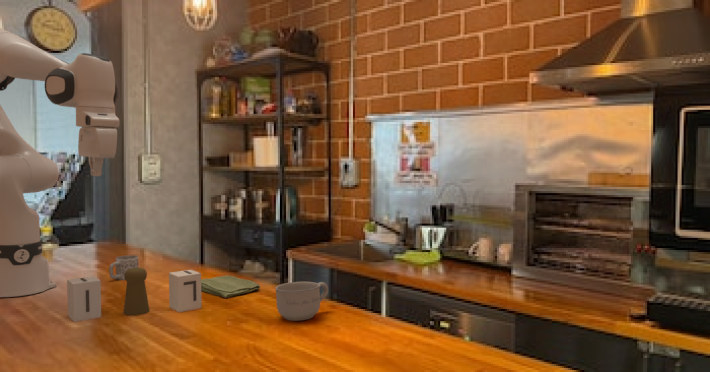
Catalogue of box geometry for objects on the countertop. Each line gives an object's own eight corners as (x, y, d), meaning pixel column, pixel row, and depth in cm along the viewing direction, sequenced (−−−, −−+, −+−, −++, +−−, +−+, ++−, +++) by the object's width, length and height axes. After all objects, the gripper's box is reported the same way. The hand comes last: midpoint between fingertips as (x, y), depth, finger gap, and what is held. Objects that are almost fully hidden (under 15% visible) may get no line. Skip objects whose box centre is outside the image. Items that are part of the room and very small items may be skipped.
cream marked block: (169, 307, 141) (168, 272, 140) (191, 303, 145) (191, 269, 144) (179, 312, 136) (178, 276, 135) (201, 308, 140) (201, 272, 139)
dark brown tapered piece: (140, 316, 133) (139, 271, 132) (118, 314, 134) (117, 270, 133) (154, 309, 139) (153, 266, 138) (132, 307, 140) (132, 265, 139)
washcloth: (225, 301, 148) (225, 289, 148) (190, 290, 160) (189, 279, 160) (263, 292, 158) (263, 281, 158) (227, 282, 170) (227, 272, 170)
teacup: (284, 326, 125) (284, 292, 124) (269, 314, 134) (269, 282, 134) (339, 318, 131) (339, 285, 131) (321, 307, 141) (321, 276, 140)
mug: (128, 274, 179) (127, 254, 178) (143, 276, 176) (142, 256, 175) (102, 281, 170) (101, 260, 169) (117, 283, 167) (117, 261, 166)
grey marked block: (68, 316, 133) (67, 279, 132) (94, 311, 137) (93, 275, 136) (74, 322, 128) (73, 283, 127) (101, 317, 132) (100, 279, 131)
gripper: (71, 120, 141) (71, 173, 142) (93, 118, 125) (93, 178, 126) (97, 121, 145) (97, 173, 146) (121, 119, 130) (122, 177, 130)
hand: (96, 175), depth 136 cm, fingers closed
